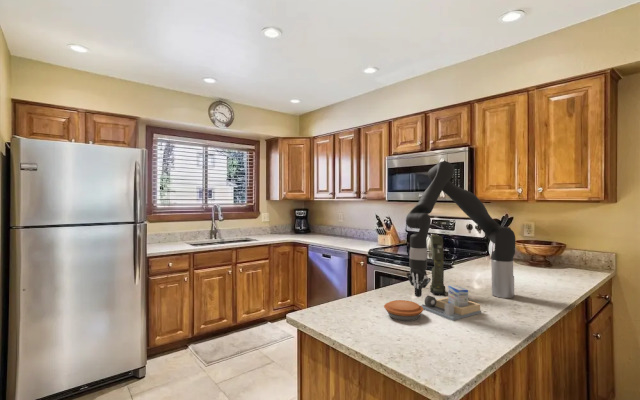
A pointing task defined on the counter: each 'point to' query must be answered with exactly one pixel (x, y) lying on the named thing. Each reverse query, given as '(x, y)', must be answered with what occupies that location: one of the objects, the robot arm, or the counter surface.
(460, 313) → the chassis
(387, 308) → the pie
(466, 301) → the medicine box
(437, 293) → the mechanical leg
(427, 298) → the wheel
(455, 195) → the robot arm
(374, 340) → the counter surface
